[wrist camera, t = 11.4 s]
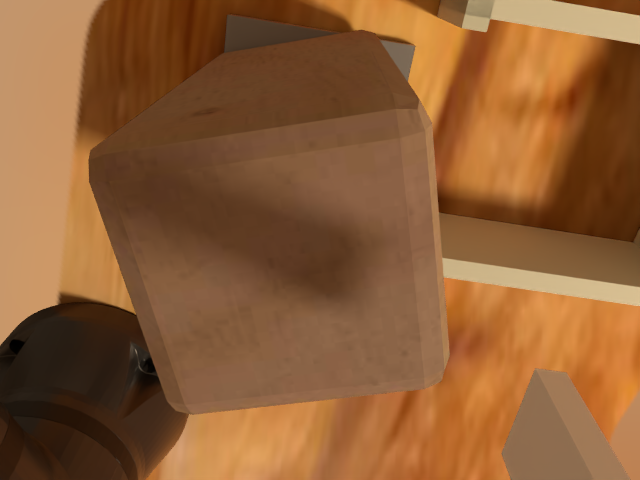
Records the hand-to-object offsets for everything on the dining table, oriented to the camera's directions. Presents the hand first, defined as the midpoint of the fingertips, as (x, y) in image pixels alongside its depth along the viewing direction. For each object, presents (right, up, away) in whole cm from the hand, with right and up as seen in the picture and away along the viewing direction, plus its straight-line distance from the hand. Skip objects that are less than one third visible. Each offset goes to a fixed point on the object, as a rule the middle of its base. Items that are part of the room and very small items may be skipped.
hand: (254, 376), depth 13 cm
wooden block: (+1, +10, +22) cm, 24 cm away
